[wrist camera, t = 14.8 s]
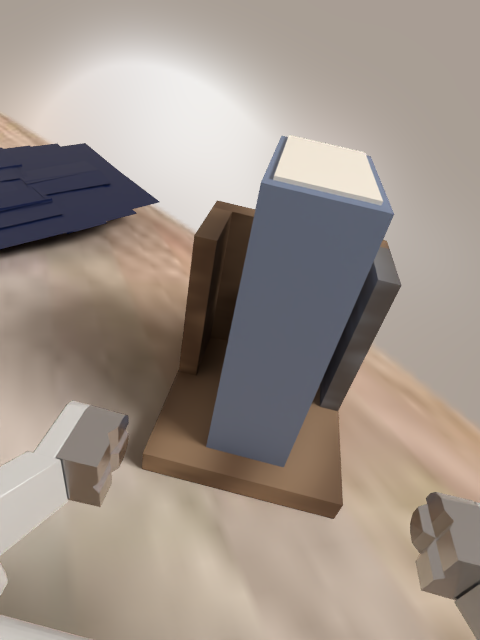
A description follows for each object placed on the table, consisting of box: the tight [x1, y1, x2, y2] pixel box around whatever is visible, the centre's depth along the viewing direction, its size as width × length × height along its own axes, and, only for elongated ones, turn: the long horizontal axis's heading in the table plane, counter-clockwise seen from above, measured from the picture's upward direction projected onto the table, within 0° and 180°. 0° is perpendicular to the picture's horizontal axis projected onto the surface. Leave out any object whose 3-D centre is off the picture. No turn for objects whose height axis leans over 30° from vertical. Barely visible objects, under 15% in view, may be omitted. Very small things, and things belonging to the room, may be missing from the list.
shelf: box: [142, 201, 401, 519], centre depth 23 cm, size 11×12×12 cm
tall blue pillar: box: [206, 135, 394, 467], centre depth 21 cm, size 4×8×15 cm, turn 170°
